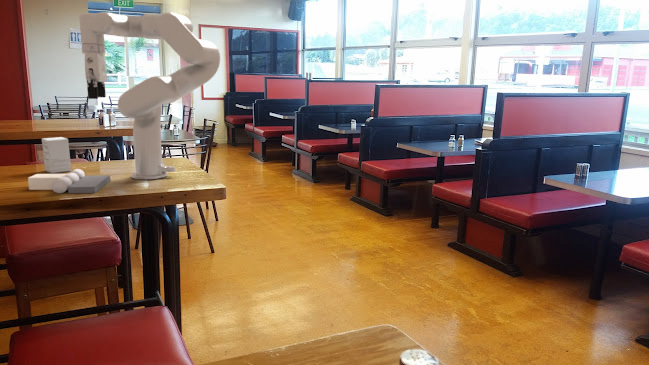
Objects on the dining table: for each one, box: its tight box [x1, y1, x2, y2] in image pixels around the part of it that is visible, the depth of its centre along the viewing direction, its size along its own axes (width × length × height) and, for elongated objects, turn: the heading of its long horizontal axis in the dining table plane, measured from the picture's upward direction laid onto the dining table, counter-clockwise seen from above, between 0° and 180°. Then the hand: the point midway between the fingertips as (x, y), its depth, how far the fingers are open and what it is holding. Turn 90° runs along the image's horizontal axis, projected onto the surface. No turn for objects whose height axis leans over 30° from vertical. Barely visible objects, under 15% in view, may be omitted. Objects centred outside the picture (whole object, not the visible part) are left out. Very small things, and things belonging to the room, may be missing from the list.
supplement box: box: [41, 136, 72, 174], centre depth 188 cm, size 7×7×13 cm
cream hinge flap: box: [27, 172, 79, 191], centre depth 163 cm, size 13×6×4 cm, turn 98°
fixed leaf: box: [52, 168, 111, 194], centre depth 164 cm, size 13×18×4 cm
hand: (97, 97), depth 180 cm, fingers open, 9 cm apart
